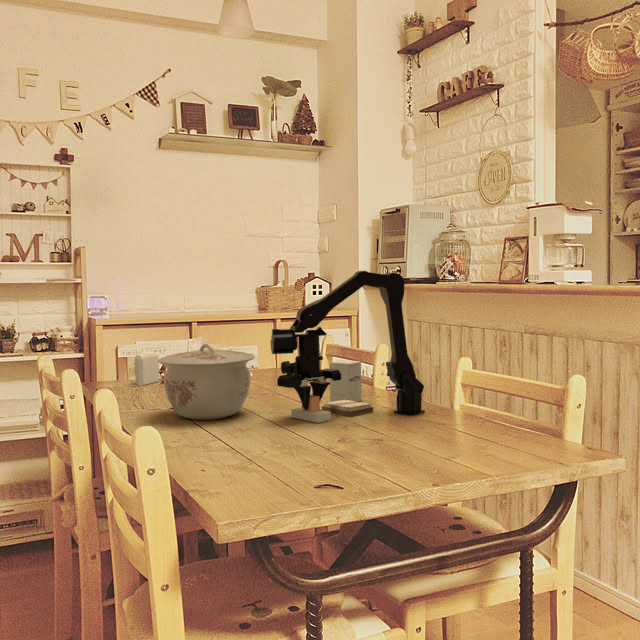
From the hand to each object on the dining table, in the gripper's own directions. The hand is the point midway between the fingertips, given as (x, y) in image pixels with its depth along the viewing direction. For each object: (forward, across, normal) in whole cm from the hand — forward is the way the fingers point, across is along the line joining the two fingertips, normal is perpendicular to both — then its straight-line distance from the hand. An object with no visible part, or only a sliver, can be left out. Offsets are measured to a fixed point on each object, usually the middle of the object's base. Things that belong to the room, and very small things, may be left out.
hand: (310, 409), depth 188 cm
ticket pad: (+3, -14, 0) cm, 14 cm away
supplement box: (+3, -25, -12) cm, 28 cm away
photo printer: (+3, -1, -96) cm, 96 cm away
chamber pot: (+3, +16, -26) cm, 31 cm away
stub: (+3, 0, 0) cm, 3 cm away
